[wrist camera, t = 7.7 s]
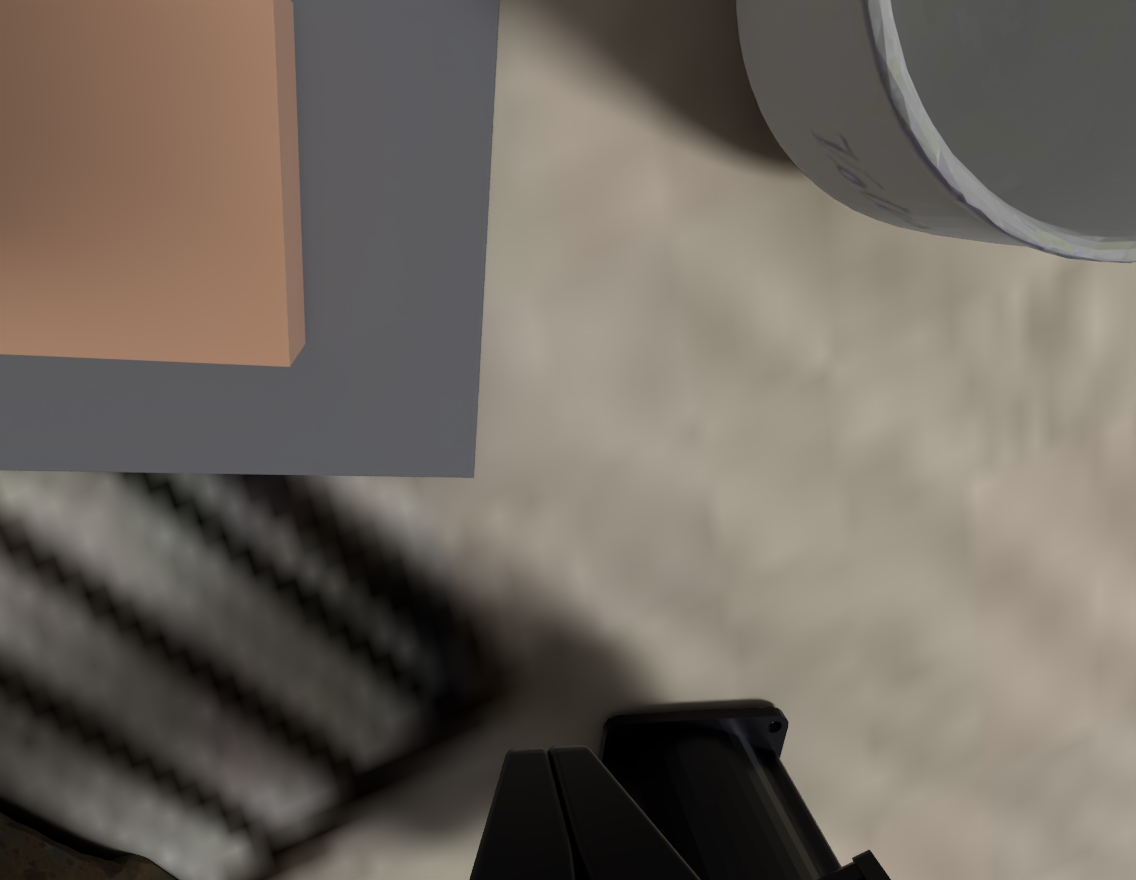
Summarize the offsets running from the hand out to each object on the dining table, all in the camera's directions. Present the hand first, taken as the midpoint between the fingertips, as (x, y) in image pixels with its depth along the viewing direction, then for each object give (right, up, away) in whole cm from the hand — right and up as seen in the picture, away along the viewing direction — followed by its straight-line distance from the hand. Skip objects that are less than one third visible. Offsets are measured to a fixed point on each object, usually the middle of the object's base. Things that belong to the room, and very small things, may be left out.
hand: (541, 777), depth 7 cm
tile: (-5, +9, +7) cm, 13 cm away
